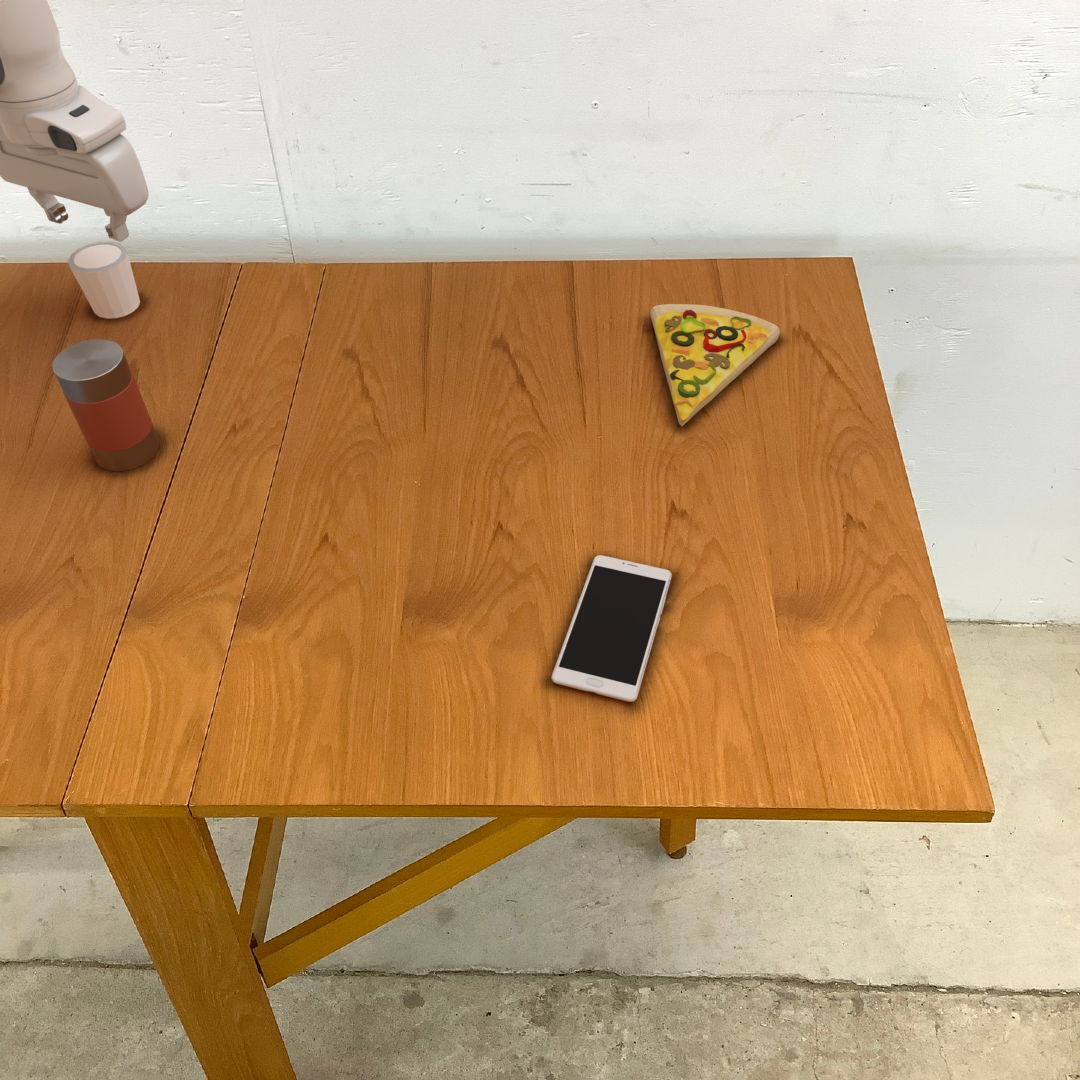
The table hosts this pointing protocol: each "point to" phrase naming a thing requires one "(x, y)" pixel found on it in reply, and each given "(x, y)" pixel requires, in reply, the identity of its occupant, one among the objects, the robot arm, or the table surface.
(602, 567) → the smartphone
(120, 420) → the tin can
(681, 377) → the pizza slice
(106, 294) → the shot glass
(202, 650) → the table surface
